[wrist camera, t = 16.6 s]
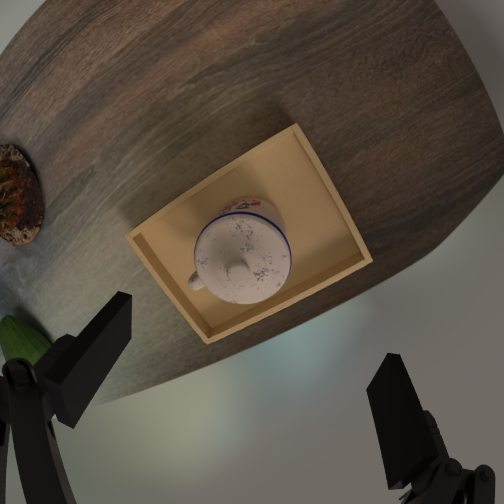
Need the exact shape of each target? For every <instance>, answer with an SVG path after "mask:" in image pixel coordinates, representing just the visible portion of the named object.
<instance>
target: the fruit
mask: <svg viewBox="0 0 504 504" xmlns="http://www.w3.org/2000/svg"><path fill="white" fill-rule="evenodd" d="M0 344H1V348H2V351H3V354H4V357H5V360H6V362H7V361H8V360H10V359H12V358H16V357H17V358H24V359H26V360H28V361H29V362H30V363H31V364H32V367H33V366H34V364H35V363H36V362H37V361H38V360H39V359H40V358H41V357H42V355H43V354H44V353H46V351H47V350H48V349H49V348H50V347H51V346H52V345H51V344H50V343H49V341H48V340H47V339H46V338H45V337H44V336H43V335H42V334H40V333H39V332H38V331H37V330H35V329H34V328H32V327H31V326H29V325H28V324H26V323H25V322H23V321H22V320H20V319H19V318H16V317H14V316H11V315H6V316H5V317H3V318H2V319H1V321H0Z"/></svg>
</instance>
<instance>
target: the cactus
mask: <svg viewBox="0 0 504 504" xmlns="http://www.w3.org/2000/svg"><path fill="white" fill-rule="evenodd" d="M43 213H44V208H43V205H42V200H41V194H40V190H39V185H38V182H37V181H36V178H35V176H34V174H33V172H32V171H31V170H30V165H29V164H28V162H27V161H26V160H25V158H24V157H23V155H22V154H21V153H19V151H18V150H17V148H14V146H13V145H11V144H4V145H0V237H2V238H4V239H5V240H7V241H8V242H9V243H11V244H12V245H13V246H23V245H26V244H28V243H29V242H31V241H32V240H33V239H34V237H35V236H36V235H37V233H38V231H39V229H40V223H41V221H42V219H43V218H44V217H43V215H42V214H43Z"/></svg>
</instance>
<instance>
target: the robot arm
mask: <svg viewBox="0 0 504 504" xmlns="http://www.w3.org/2000/svg"><path fill="white" fill-rule="evenodd" d="M131 321H132V295H130V294H127V293H124V292H120V291H118V292H117V293H116V294H115V295H114V296H113V297H112V298H111V300H110V301H109V302H108V303H107V304H106V305H105V306H104V307H103V308H102V309H101V310H100V311H99V313H98V314H97V315H96V316H95V317H94V318H93V319H92V320H91V321H90V323H89V324H88V325H87V326H86V327H85V328H84V329H83V330H82V332H81V333H80V334H79V335H78V336H77V337H74V336H72V335H69V334H66V335H64V336H62V337H60V338H58V339H57V340H56V341H55V342H54V343H53V344H52V346H51V347H50V348H49V349H48V350H47V351H46V353H44V354H43V355H42V357H41V358H40V359H39V360H38V361H37V362H36V363H35V364H34V366H33V367H32V364H31V363H30V362H29V361H28V360H26V359H24V358H17V357H16V358H12V359H10V360H8V361H7V362H6V363H5V364H4V365H3V367H2V373H3V376H4V377H3V376H0V504H5V491H6V489H5V488H6V466H7V453H8V442H9V434H10V426H11V429H12V435H13V443H14V449H15V455H16V460H17V465H18V470H19V475H20V480H21V483H22V488H23V491H24V496H25V499H26V503H27V504H77V503H76V501H75V498H74V495H73V493H72V490H71V487H70V484H69V481H68V478H67V475H66V472H65V469H64V466H63V462H62V459H61V455H60V452H59V448H58V445H57V441H56V437H55V433H54V428H53V424H52V421H51V419H52V417H53V416H54V414H56V417H57V419H58V421H59V422H61V423H63V424H65V425H67V426H69V427H71V428H73V429H74V427H75V425H76V424H77V422H78V421H79V419H80V417H81V415H82V414H83V412H84V411H85V409H86V408H87V406H88V404H89V403H90V401H91V400H92V398H93V396H94V395H95V393H96V392H97V390H98V388H99V387H100V385H101V384H102V382H103V381H104V379H105V378H106V376H107V374H108V373H109V371H110V370H111V368H112V367H113V365H114V364H115V362H116V361H117V359H118V358H119V356H120V355H121V353H122V352H123V350H124V349H125V347H126V346H127V344H128V343H129V341H130V340H131ZM366 391H367V395H368V399H369V403H370V407H371V410H372V415H373V419H374V423H375V427H376V432H377V436H378V440H379V445H380V449H381V454H382V459H383V464H384V468H385V474H386V479H387V484H388V489H389V490H393V489H403V488H404V487H405V486H407V485H408V484H409V483H410V482H411V486H412V488H411V489H410V490H409V491H408V492H406V493H405V494H404V495H403V496H401V497H400V498H399V500H401V499H403V498H404V497H405V498H404V499H403V501H402V503H401V504H494V503H495V473H494V471H493V470H492V469H491V468H490V467H489V466H487V465H480V466H478V467H477V468H476V469H475V470H474V471H473V470H468V469H462V466H461V464H460V463H459V462H458V461H457V460H455V459H453V458H449V455H448V452H447V450H446V447H445V444H444V442H443V439H442V436H441V435H440V431H439V429H438V428H437V424H436V421H435V418H434V417H433V416H432V415H431V413H430V412H429V411H427V410H425V411H424V410H423V409H422V406H421V404H420V401H419V399H418V396H417V394H416V392H415V389H414V387H413V384H412V382H411V379H410V377H409V375H408V372H407V370H406V368H405V365H404V363H403V361H402V358H401V356H400V354H393V353H387V355H386V357H385V358H384V360H383V362H382V364H381V366H380V367H379V369H378V371H377V373H376V374H375V376H374V378H373V379H372V381H371V383H370V384H369V386H368V388H367V389H366Z"/></svg>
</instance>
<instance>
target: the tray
mask: <svg viewBox="0 0 504 504" xmlns="http://www.w3.org/2000/svg"><path fill="white" fill-rule="evenodd" d="M245 197H253V198H259V199H262V200H264V201H267V202H268V203H270V204H271V205H273V206H274V207H275V208H276V209H277V210H278V211H279V212H280V214H281V215H282V217H283V219H284V221H285V224H286V229H287V239H288V243H289V246H290V249H291V255H292V263H291V269H290V273H289V275H288V278H287V280H286V281H285V283H284V284H283V286H282V287H281V288H280V289H279V290H278V291H277V292H276V293H275V294H274V295H272V296H271V297H269V298H267V299H265V300H263V301H260V302H257V303H252V304H237V303H232V302H228V301H225V300H223V299H221V298H219V297H217V296H216V295H214V294H213V293H212V292H210V291H209V290H208V289H207V288H206V286H204V287H203V288H201V289H198V290H192V289H191V288H190V287H189V285H188V280H189V278H190V276H191V275H192V274H193V273H194V272H195V271H196V267H195V263H194V249H195V244H196V241H197V238H198V236H199V235H200V233H201V231H202V230H203V229H204V228H205V226H206V225H207V224H208V223H210V222H211V221H212V220H214V218H215V217H216V216H217V214H218V213H219V212H220V210H221V209H222V208H223V207H224V206H225V205H227V204H228V203H230V202H232V201H234V200H236V199H239V198H245ZM125 238H126V239H127V241H128V242H129V244H130V245H131V247H132V248H133V249H134V251H135V252H136V254H137V255H138V257H139V258H140V259H141V261H142V262H143V264H144V265H145V266H146V268H147V269H148V270H149V272H150V273H151V274H152V276H153V277H154V279H155V280H156V281H157V283H158V284H159V285H160V287H161V288H162V289H163V290H164V292H165V293H166V294H167V296H168V297H169V298H170V300H171V301H172V302H173V304H174V305H175V306H176V307H177V309H178V310H179V311H180V312H181V314H182V315H183V316H184V318H185V319H186V320H187V321H188V323H189V324H190V325H191V326H192V327H193V329H194V330H195V331H196V332H197V334H198V335H199V336H200V337H201V338H202V340H203V341H204V342H205V343H206V344H210V343H212V342H214V341H216V340H219V339H221V338H223V337H225V336H227V335H229V334H232V333H234V332H236V331H238V330H240V329H242V328H244V327H247V326H249V325H251V324H253V323H255V322H257V321H259V320H261V319H263V318H265V317H267V316H269V315H271V314H273V313H275V312H277V311H279V310H281V309H284V308H286V307H288V306H289V305H291V304H293V303H295V302H297V301H299V300H301V299H303V298H305V297H307V296H309V295H311V294H313V293H315V292H317V291H319V290H321V289H323V288H324V287H326V286H328V285H330V284H332V283H334V282H336V281H338V280H340V279H341V278H343V277H345V276H347V275H349V274H351V273H352V272H354V271H356V270H358V269H360V268H362V267H363V266H365V265H367V264H368V263H370V262H372V261H373V260H372V258H371V256H370V254H369V252H368V250H367V247H366V245H365V243H364V241H363V239H362V237H361V235H360V233H359V231H358V229H357V227H356V225H355V223H354V222H353V220H352V218H351V216H350V214H349V212H348V210H347V208H346V206H345V204H344V203H343V201H342V199H341V197H340V195H339V193H338V191H337V190H336V188H335V186H334V184H333V182H332V181H331V179H330V177H329V175H328V174H327V172H326V170H325V168H324V167H323V165H322V163H321V161H320V160H319V158H318V156H317V155H316V153H315V151H314V150H313V148H312V146H311V145H310V143H309V141H308V140H307V138H306V136H305V135H304V133H303V132H302V130H301V128H300V127H299V125H298V124H297V123H295V124H293V125H291V126H290V127H288V128H286V129H284V130H283V131H281V132H279V133H277V134H276V135H274V136H272V137H271V138H269V139H267V140H266V141H264V142H262V143H261V144H259V145H257V146H256V147H254V148H253V149H251V150H249V151H248V152H246V153H244V154H243V155H241V156H240V157H238V158H236V159H235V160H233V161H232V162H230V163H229V164H227V165H225V166H224V167H222V168H221V169H219V170H218V171H216V172H215V173H213V174H212V175H210V176H209V177H207V178H205V179H204V180H202V181H201V182H200V183H198V184H197V185H195V186H194V187H192V188H191V189H189V190H188V191H186V192H185V193H183V194H182V195H180V196H179V197H178V198H176V199H175V200H173V201H172V202H170V203H169V204H168V205H166V206H165V207H163V208H162V209H161V210H159V211H158V212H156V213H155V214H154V215H152V216H151V217H149V218H148V219H147V220H145V221H144V222H143V223H141V224H140V225H139V226H137V227H136V228H135V229H133V230H132V231H131V232H129V233H128V234H127V235H125Z"/></svg>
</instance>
